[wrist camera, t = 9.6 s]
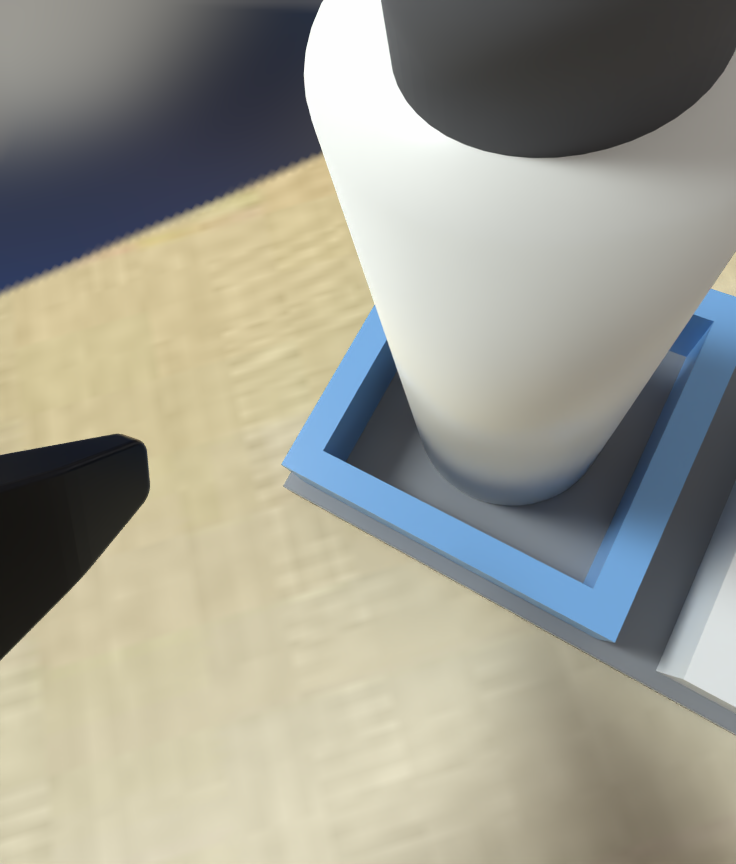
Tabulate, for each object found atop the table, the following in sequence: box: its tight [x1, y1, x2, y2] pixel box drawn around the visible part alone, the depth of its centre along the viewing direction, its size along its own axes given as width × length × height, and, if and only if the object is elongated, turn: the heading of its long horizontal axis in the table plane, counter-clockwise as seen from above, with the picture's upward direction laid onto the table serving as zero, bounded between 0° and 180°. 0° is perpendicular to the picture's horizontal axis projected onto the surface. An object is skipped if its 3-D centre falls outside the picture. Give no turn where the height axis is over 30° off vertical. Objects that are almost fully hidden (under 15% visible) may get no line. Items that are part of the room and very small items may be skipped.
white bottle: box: [304, 0, 736, 506], centre depth 10 cm, size 5×5×13 cm
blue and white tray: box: [281, 289, 736, 735], centre depth 14 cm, size 20×9×3 cm, turn 61°
